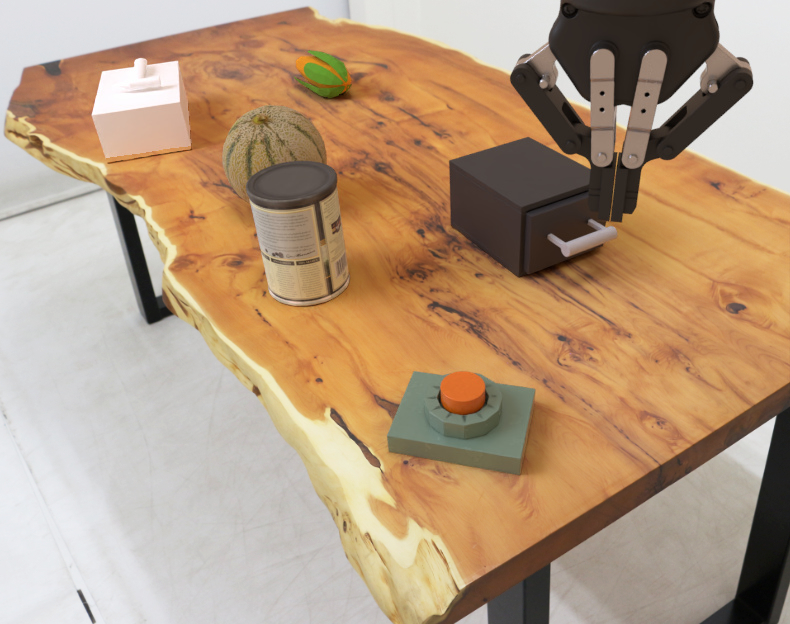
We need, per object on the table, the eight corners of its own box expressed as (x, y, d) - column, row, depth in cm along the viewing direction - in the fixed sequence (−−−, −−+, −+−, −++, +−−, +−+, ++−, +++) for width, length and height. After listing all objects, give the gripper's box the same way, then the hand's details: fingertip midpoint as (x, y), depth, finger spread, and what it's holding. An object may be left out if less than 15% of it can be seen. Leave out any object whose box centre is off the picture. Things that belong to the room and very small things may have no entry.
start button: (488, 388, 66) (489, 374, 65) (480, 418, 63) (480, 404, 62) (446, 382, 67) (446, 368, 66) (436, 411, 64) (435, 397, 63)
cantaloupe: (319, 174, 114) (306, 81, 105) (343, 215, 102) (330, 113, 93) (227, 193, 110) (205, 98, 101) (241, 237, 99) (217, 134, 90)
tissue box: (107, 163, 123) (86, 101, 117) (115, 114, 143) (98, 59, 136) (191, 149, 125) (176, 88, 119) (188, 103, 145) (175, 48, 139)
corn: (326, 66, 133) (278, 44, 147) (328, 106, 138) (281, 82, 151) (359, 60, 137) (309, 39, 150) (361, 99, 141) (312, 76, 155)
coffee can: (268, 266, 92) (247, 165, 84) (347, 256, 93) (334, 155, 85) (266, 312, 84) (243, 205, 76) (353, 301, 85) (339, 194, 76)
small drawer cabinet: (599, 246, 91) (607, 177, 85) (518, 277, 86) (521, 207, 81) (525, 200, 102) (528, 136, 96) (450, 225, 98) (448, 160, 92)
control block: (534, 405, 69) (536, 373, 66) (520, 476, 62) (521, 444, 59) (414, 386, 72) (412, 356, 69) (388, 452, 65) (384, 421, 63)
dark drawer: (627, 261, 86) (636, 203, 81) (551, 291, 82) (555, 232, 77) (532, 201, 100) (534, 149, 95) (463, 225, 96) (462, 171, 91)
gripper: (492, -88, 32) (492, 237, 43) (817, -102, 29) (730, 259, 39) (520, -113, 38) (514, 180, 49) (794, -128, 34) (724, 194, 45)
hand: (611, 215), depth 44 cm, fingers closed
